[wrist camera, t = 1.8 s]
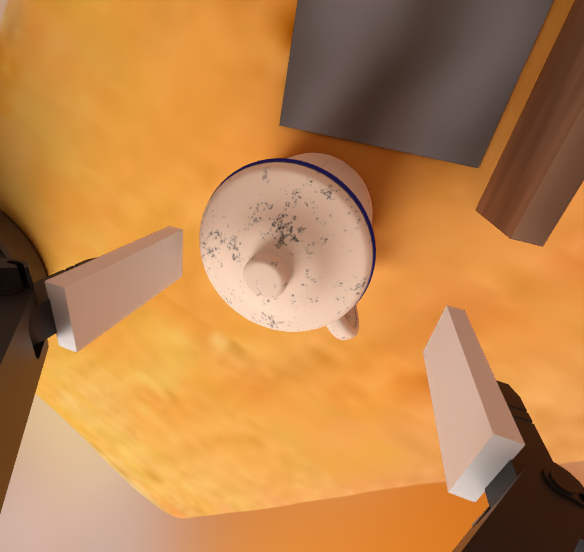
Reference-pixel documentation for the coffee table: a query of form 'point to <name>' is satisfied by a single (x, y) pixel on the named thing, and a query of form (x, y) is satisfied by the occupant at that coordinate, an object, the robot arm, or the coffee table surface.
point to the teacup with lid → (291, 243)
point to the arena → (448, 93)
